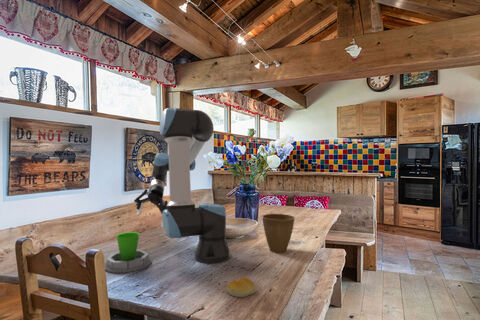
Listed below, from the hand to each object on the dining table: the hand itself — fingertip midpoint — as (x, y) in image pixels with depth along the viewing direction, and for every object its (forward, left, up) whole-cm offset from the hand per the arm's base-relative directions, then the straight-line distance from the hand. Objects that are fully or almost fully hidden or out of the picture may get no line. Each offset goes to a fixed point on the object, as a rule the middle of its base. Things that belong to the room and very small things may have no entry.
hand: (151, 220), depth 135 cm
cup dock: (-11, +15, -14) cm, 23 cm away
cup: (-11, +15, -13) cm, 23 cm away
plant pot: (-42, -43, -14) cm, 61 cm away
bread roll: (-60, -2, -14) cm, 61 cm away
